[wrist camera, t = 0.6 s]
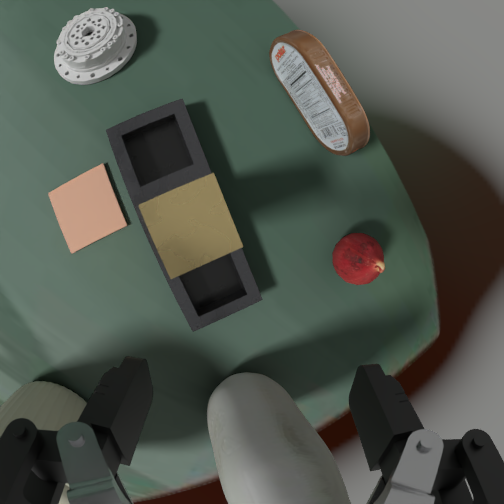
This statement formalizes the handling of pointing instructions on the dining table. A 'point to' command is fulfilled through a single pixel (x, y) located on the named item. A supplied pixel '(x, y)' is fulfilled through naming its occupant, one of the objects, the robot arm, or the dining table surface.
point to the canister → (43, 409)
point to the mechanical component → (94, 46)
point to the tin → (320, 92)
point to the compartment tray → (164, 180)
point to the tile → (87, 208)
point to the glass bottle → (269, 446)
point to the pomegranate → (358, 258)
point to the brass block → (191, 225)
